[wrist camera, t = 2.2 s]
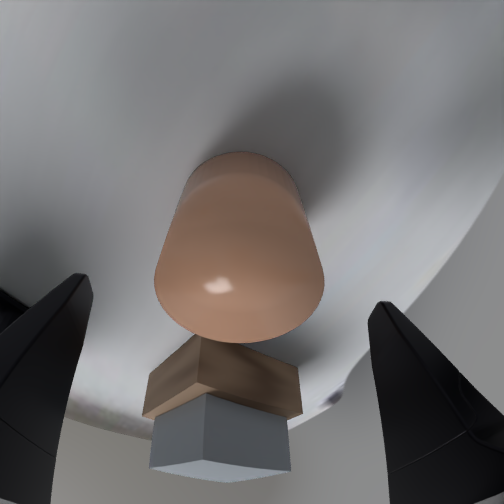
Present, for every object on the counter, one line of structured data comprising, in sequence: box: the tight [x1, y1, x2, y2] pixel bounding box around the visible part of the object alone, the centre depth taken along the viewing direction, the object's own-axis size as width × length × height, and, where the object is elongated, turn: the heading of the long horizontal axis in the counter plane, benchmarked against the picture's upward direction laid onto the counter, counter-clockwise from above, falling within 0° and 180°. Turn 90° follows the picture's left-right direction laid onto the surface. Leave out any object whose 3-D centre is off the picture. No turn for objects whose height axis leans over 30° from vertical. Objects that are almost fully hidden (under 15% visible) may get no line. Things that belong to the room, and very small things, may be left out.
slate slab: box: [149, 393, 291, 483], centre depth 17 cm, size 6×6×4 cm
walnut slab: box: [142, 334, 303, 420], centre depth 20 cm, size 8×8×4 cm
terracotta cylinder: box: [154, 152, 324, 343], centre depth 11 cm, size 5×5×5 cm
